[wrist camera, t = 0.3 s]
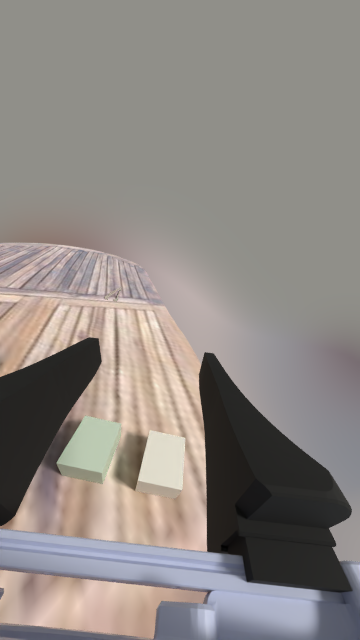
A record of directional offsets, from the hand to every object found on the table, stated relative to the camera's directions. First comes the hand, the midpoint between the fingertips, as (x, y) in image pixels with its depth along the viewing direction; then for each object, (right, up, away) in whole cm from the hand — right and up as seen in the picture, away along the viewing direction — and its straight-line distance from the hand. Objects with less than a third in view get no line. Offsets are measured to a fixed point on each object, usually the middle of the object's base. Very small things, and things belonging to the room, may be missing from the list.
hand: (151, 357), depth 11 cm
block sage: (-10, -16, +10) cm, 21 cm away
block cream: (-1, -18, +11) cm, 21 cm away
